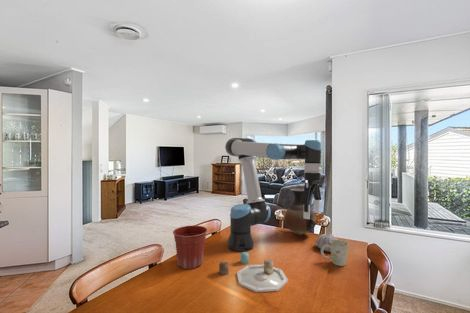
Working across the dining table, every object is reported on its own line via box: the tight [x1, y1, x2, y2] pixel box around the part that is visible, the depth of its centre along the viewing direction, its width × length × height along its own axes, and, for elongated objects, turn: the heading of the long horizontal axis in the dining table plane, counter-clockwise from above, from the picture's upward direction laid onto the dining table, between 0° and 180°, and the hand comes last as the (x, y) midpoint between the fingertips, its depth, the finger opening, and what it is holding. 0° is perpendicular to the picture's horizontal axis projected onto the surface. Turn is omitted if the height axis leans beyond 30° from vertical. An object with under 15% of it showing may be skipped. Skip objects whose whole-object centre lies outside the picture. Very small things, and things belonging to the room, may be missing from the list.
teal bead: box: [240, 251, 250, 265], centre depth 113 cm, size 4×4×5 cm
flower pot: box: [172, 225, 208, 270], centre depth 114 cm, size 16×16×16 cm
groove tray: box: [236, 263, 289, 293], centre depth 99 cm, size 20×20×2 cm
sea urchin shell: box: [315, 233, 339, 253], centre depth 132 cm, size 13×14×8 cm
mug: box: [320, 239, 350, 267], centre depth 115 cm, size 8×13×10 cm, turn 78°
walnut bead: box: [218, 261, 229, 276], centre depth 103 cm, size 4×4×5 cm
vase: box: [284, 188, 316, 236], centre depth 154 cm, size 23×19×30 cm
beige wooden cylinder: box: [263, 258, 274, 275], centre depth 103 cm, size 4×4×5 cm
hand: (311, 215), depth 114 cm, fingers open, 13 cm apart
